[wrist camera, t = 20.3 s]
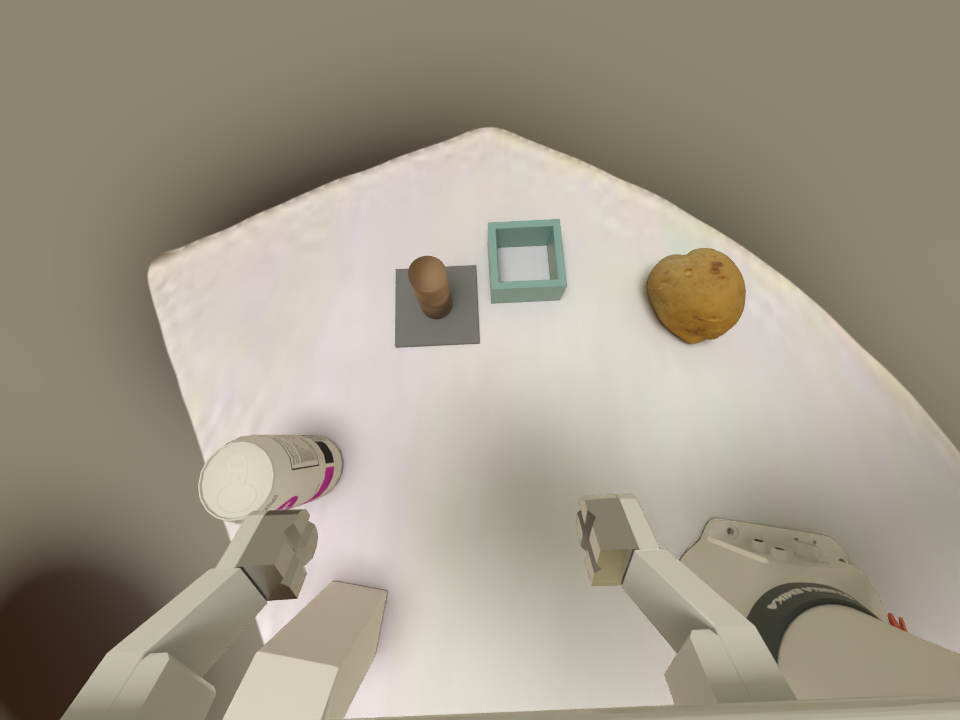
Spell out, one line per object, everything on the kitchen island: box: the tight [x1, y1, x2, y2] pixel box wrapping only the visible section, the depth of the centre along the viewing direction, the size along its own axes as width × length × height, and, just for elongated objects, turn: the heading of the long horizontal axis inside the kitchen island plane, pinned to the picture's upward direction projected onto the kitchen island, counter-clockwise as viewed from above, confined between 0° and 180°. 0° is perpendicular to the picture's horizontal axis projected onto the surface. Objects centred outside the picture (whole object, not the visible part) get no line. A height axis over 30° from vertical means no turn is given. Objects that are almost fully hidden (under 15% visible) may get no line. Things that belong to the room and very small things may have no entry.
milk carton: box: [223, 581, 387, 720], centre depth 34 cm, size 7×7×19 cm
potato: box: [647, 248, 746, 344], centre depth 46 cm, size 10×12×10 cm
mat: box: [395, 265, 479, 348], centre depth 51 cm, size 12×12×1 cm
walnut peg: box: [408, 256, 452, 319], centre depth 46 cm, size 4×4×10 cm
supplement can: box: [198, 435, 342, 524], centre depth 40 cm, size 8×8×15 cm
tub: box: [488, 219, 567, 304], centre depth 50 cm, size 10×10×5 cm
